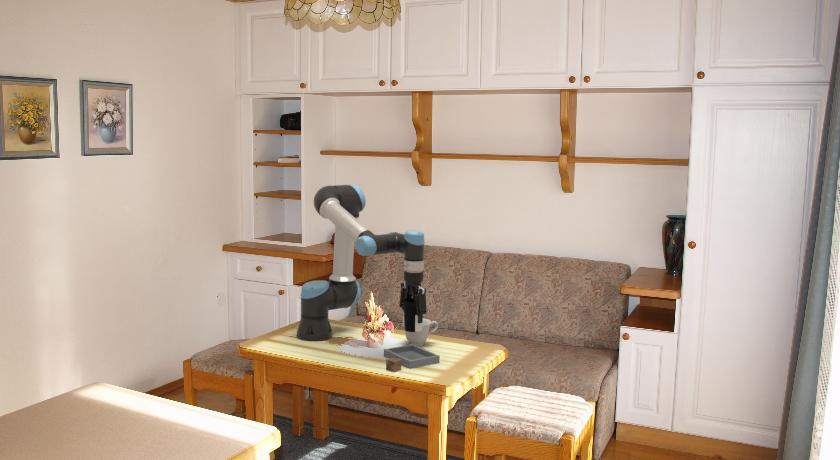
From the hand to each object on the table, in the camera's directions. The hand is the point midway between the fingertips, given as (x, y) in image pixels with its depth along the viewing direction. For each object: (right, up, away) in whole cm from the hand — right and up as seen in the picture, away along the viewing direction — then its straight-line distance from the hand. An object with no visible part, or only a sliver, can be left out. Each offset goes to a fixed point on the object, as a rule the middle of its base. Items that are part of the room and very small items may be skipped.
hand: (412, 328), depth 299 cm
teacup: (+3, -10, +23) cm, 25 cm away
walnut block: (-7, -14, -11) cm, 19 cm away
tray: (0, -12, +2) cm, 12 cm away
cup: (0, -1, 0) cm, 1 cm away
